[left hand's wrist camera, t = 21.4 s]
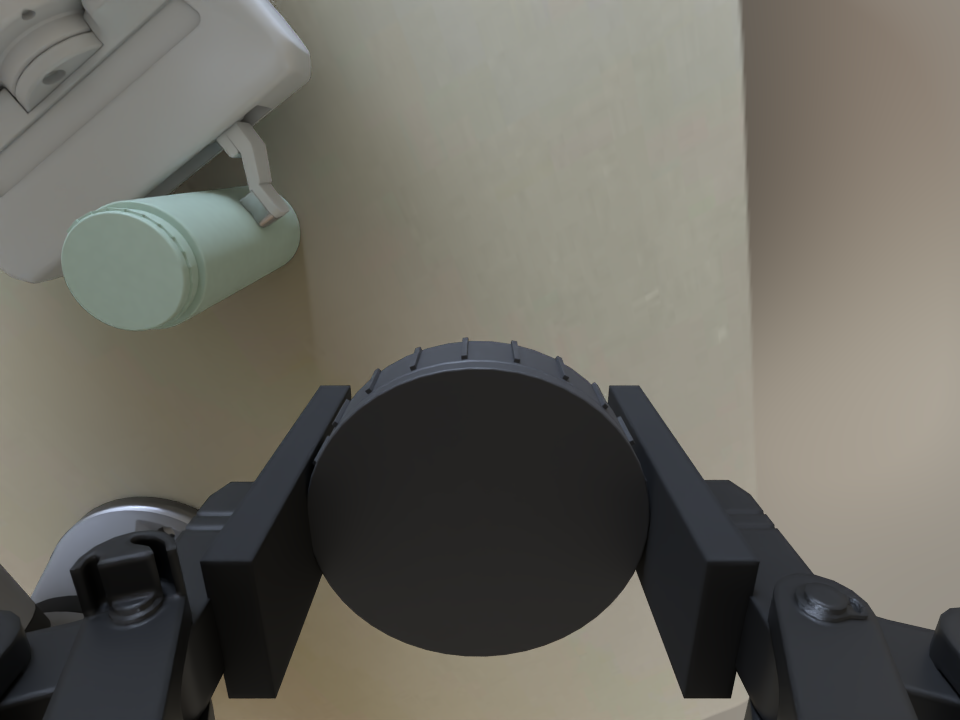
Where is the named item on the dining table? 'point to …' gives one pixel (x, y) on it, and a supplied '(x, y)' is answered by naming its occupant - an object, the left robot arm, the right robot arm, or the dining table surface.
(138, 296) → the jar
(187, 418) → the dining table surface
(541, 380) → the lid
